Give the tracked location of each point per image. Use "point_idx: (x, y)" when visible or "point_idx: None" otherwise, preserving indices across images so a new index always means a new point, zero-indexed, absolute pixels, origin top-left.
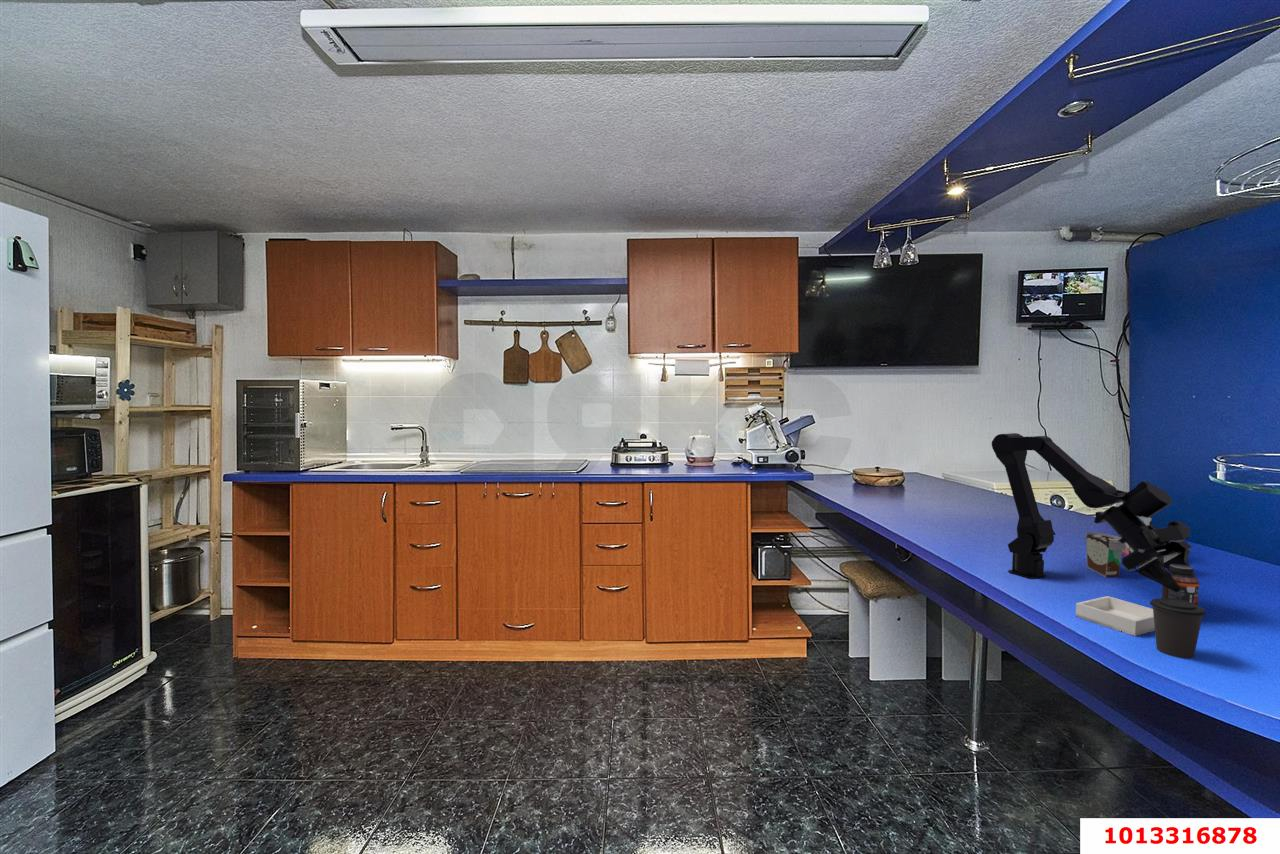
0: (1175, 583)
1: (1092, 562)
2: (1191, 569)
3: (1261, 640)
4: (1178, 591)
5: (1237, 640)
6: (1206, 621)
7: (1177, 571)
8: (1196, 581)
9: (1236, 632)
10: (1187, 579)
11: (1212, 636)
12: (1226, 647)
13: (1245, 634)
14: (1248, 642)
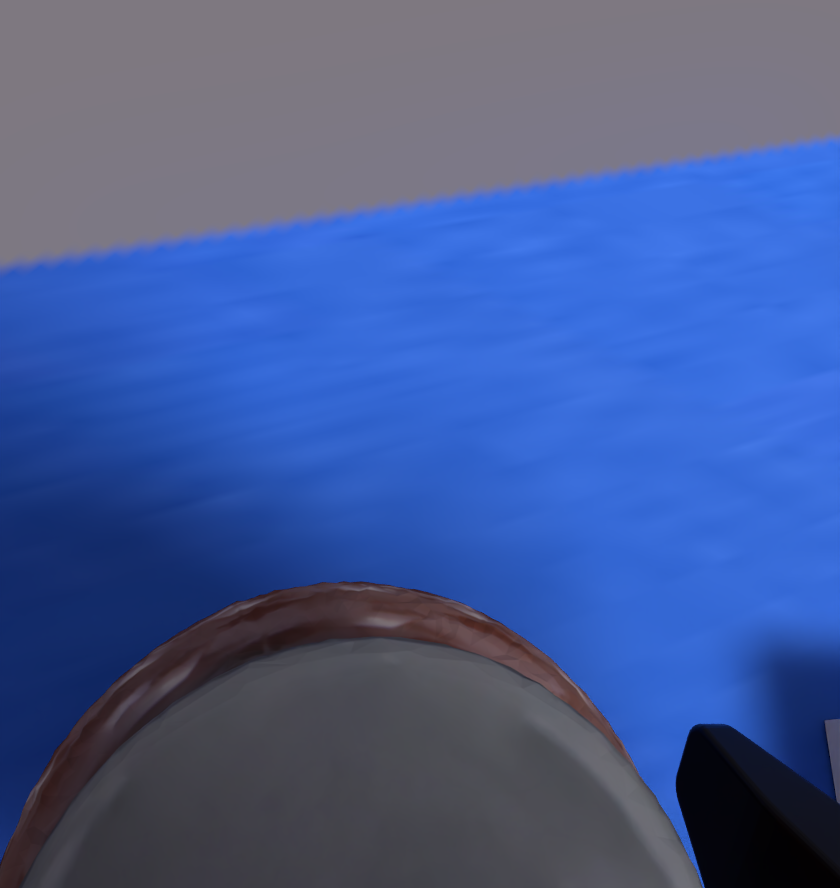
0: (828, 800)
1: None
2: (443, 649)
3: (407, 239)
4: (688, 761)
5: (574, 322)
6: None
7: None
8: (384, 590)
9: (375, 374)
10: (557, 694)
11: (663, 439)
12: (796, 323)
13: (364, 327)
14: (544, 274)
